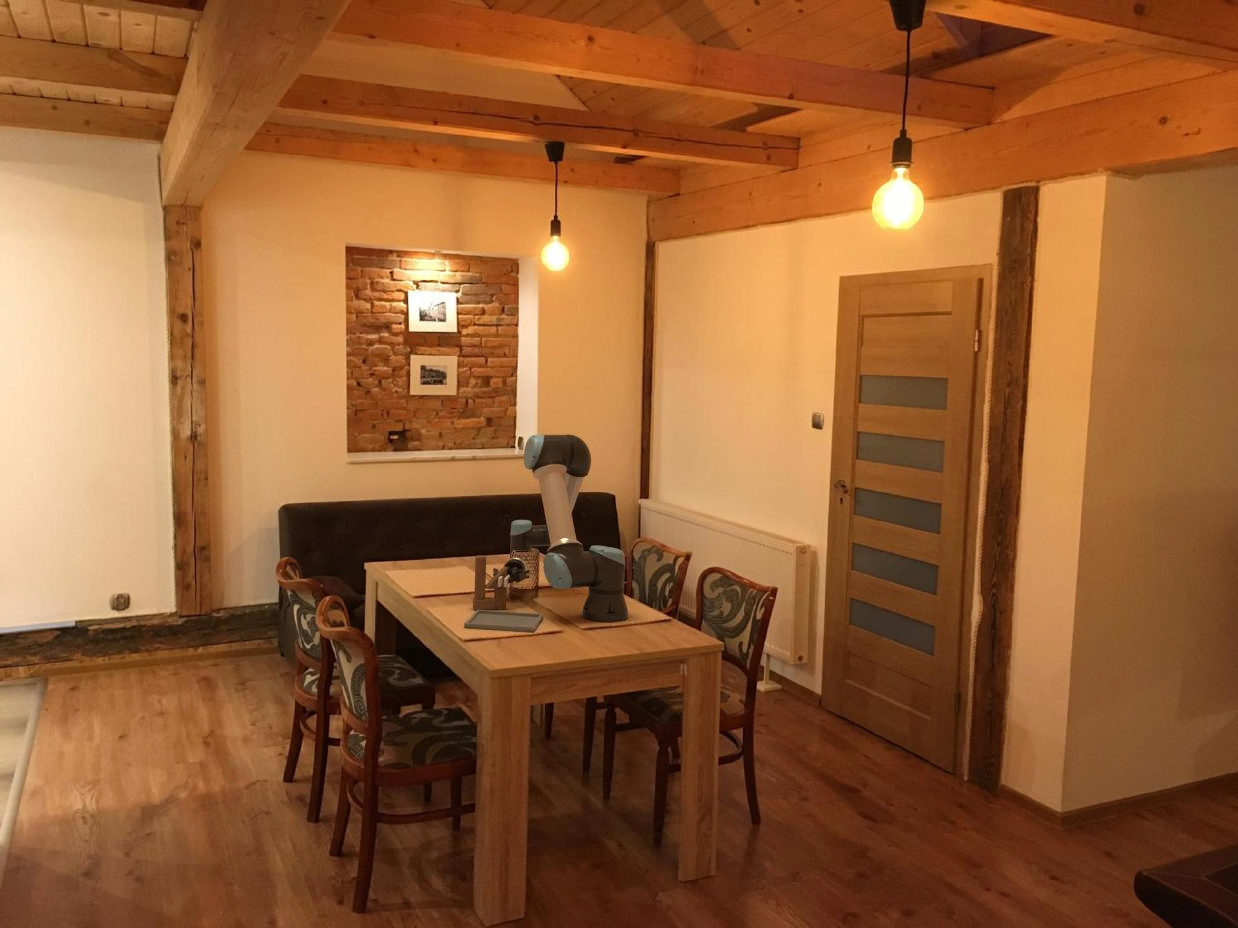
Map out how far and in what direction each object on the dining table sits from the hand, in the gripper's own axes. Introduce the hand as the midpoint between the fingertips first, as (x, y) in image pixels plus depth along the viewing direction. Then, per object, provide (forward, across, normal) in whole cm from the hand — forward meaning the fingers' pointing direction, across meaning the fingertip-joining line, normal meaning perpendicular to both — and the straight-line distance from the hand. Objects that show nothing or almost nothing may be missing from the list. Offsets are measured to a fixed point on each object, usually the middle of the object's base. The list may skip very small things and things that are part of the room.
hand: (502, 582), depth 350 cm
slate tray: (+13, -4, -10) cm, 17 cm away
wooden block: (-4, +5, -10) cm, 12 cm away
